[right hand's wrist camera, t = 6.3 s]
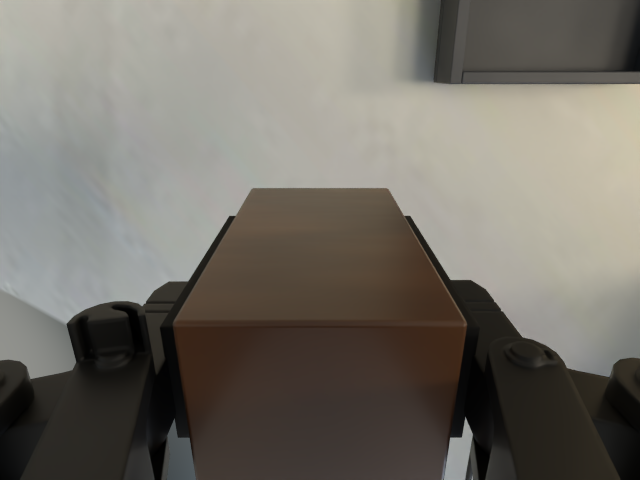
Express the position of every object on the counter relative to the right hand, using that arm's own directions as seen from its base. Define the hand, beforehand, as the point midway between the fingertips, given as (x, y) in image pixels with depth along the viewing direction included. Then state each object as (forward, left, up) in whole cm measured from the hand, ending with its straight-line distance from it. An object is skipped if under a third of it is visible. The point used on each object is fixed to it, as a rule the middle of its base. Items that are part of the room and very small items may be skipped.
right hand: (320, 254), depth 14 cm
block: (0, 0, 0) cm, 0 cm away
